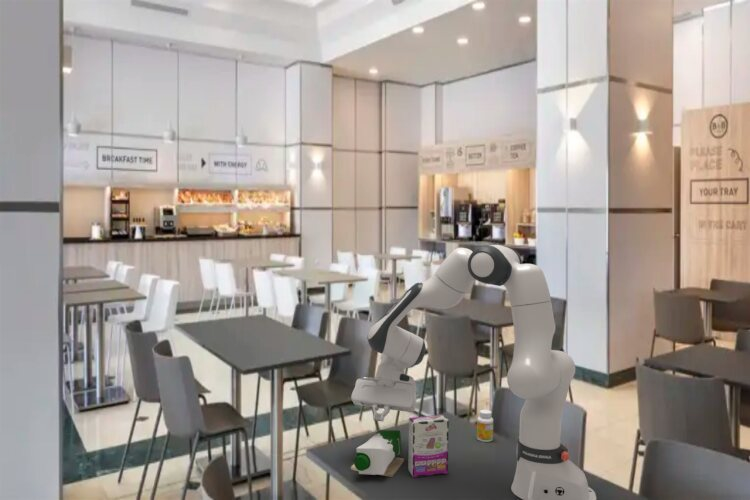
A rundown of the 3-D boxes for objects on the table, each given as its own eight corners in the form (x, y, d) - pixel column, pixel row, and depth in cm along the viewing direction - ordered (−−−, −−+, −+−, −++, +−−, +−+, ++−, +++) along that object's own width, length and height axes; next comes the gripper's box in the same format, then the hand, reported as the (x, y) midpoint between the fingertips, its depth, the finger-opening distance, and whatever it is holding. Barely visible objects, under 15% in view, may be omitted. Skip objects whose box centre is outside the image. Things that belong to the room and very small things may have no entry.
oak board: (403, 461, 187) (404, 458, 187) (392, 476, 175) (392, 474, 175) (364, 454, 191) (364, 452, 191) (350, 469, 180) (350, 467, 179)
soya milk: (376, 427, 192) (351, 448, 173) (402, 427, 188) (380, 449, 170) (378, 454, 192) (354, 478, 173) (405, 455, 188) (383, 480, 170)
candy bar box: (441, 467, 183) (443, 414, 182) (448, 474, 178) (449, 419, 177) (406, 470, 180) (408, 416, 179) (412, 477, 175) (413, 422, 174)
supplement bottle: (473, 437, 208) (474, 409, 207) (487, 435, 210) (488, 408, 209) (481, 442, 203) (482, 414, 202) (495, 441, 204) (496, 413, 204)
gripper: (355, 371, 191) (343, 410, 182) (417, 378, 184) (408, 419, 176) (360, 381, 196) (348, 420, 187) (421, 388, 189) (412, 429, 180)
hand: (378, 420), depth 181 cm, fingers closed
